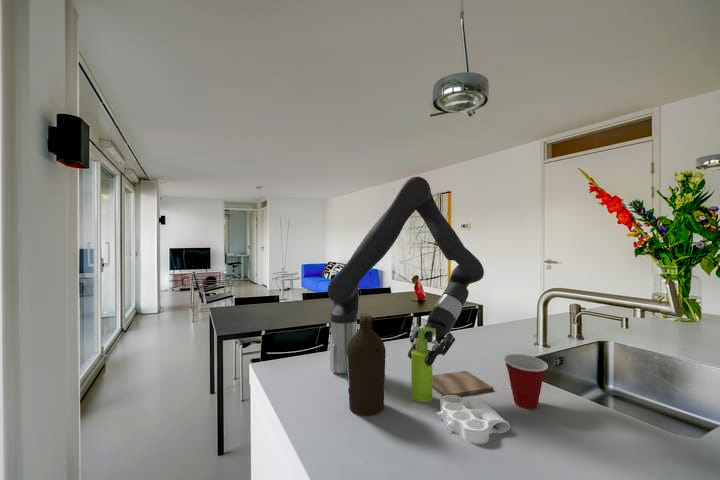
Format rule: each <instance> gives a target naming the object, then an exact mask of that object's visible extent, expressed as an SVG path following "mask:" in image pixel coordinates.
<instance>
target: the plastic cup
mask: <svg viewBox="0 0 720 480" xmlns="http://www.w3.org/2000/svg"><path fill="white" fill-rule="evenodd" d="M503 360H504V362H505V364H506V368H507V371H508V378H509V384H510V389H511V393H512V398H513V402H514V404H515V405H517V406H518V407H521V408H523V409H531V410H532V409H536V408H537V407H538V405H539V400H540V395H541V390H542V385H543V379H544V376H545V373H546V371H547V370H548V368H549V365H548V363H547V362H546V361H544V360H543V359H541V358H538V357H535V356H532V355H529V354H528V355H527V354H523V353H522V354H521V353H512V354H508V355H505V356H504V358H503Z"/></svg>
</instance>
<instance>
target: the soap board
mask: <svg viewBox="0 0 720 480" xmlns="http://www.w3.org/2000/svg"><path fill="white" fill-rule="evenodd" d="M432 389H433V390H435V391H436V393H438V394H440V395H441V397H443V396H445V395H455V396H459V397H463V396H468V395H474V394H475V395H476V394H482V393H487V392H494V386H492V385H490V384H489V383H486V382H485V381H483V380H481V379H480V378H478V377H476V376H475V375H473V374H472V373H471V372H468V371H467V370H463V371H455V372H447V373H440V374H439V373H438V374H432Z"/></svg>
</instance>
